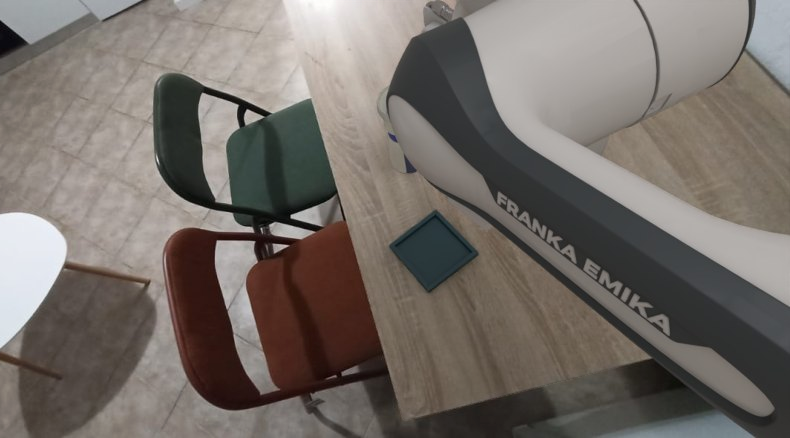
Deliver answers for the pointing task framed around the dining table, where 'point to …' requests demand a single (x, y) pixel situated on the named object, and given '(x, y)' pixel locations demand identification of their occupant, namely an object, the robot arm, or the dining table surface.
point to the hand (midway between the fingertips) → (492, 141)
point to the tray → (433, 250)
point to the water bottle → (393, 138)
